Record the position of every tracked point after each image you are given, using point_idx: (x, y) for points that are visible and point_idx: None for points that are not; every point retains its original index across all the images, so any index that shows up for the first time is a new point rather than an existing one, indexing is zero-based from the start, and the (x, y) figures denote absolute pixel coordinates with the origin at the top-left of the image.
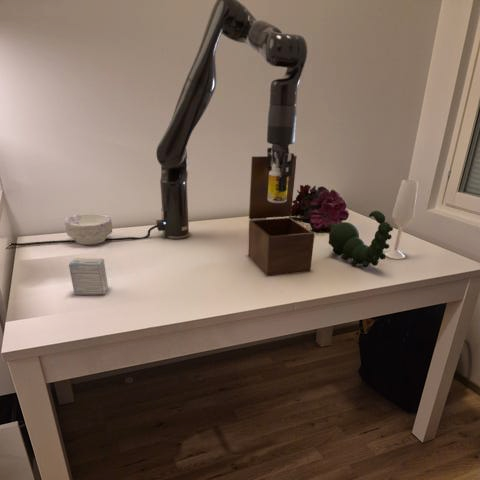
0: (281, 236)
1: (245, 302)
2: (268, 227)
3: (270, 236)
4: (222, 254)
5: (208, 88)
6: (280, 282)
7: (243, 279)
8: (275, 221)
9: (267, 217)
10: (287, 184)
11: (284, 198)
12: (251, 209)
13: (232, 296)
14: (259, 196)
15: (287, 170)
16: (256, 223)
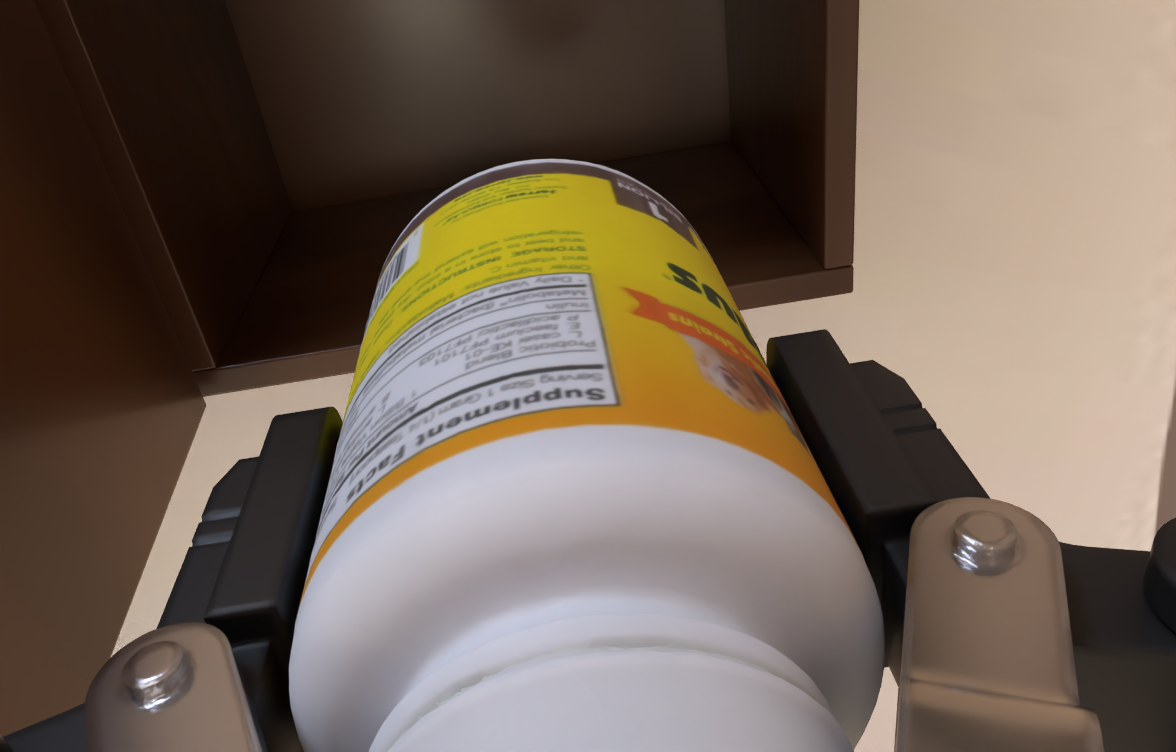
0: (854, 153)
1: (1092, 349)
2: (167, 130)
3: (843, 275)
4: (258, 411)
5: None
6: (891, 71)
7: (769, 321)
8: (103, 52)
9: (111, 189)
10: (709, 325)
11: (705, 251)
12: (171, 459)
13: (991, 406)
14: (76, 483)
15: (1065, 669)
16: (206, 302)
